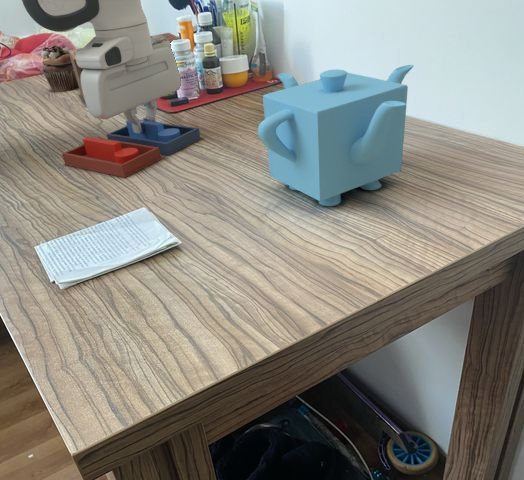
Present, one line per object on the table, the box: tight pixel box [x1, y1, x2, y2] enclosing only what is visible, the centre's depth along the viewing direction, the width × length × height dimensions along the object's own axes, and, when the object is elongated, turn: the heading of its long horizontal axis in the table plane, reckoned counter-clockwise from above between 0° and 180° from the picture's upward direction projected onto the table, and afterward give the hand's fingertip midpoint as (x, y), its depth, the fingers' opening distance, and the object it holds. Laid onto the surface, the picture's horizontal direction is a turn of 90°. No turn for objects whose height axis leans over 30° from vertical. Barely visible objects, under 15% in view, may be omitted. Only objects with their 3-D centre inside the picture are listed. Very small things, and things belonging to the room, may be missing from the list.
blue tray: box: [106, 123, 202, 156], centre depth 95 cm, size 16×9×2 cm, turn 55°
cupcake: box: [40, 44, 79, 93], centre depth 136 cm, size 10×10×10 cm
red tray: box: [61, 137, 162, 178], centre depth 89 cm, size 16×9×2 cm, turn 55°
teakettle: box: [257, 64, 415, 207], centre depth 68 cm, size 19×19×15 cm
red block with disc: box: [82, 136, 139, 164], centre depth 88 cm, size 12×4×3 cm, turn 54°
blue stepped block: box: [125, 119, 180, 142], centre depth 95 cm, size 12×4×3 cm, turn 54°
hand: (145, 129), depth 96 cm, fingers closed on blue stepped block, 2 cm apart
